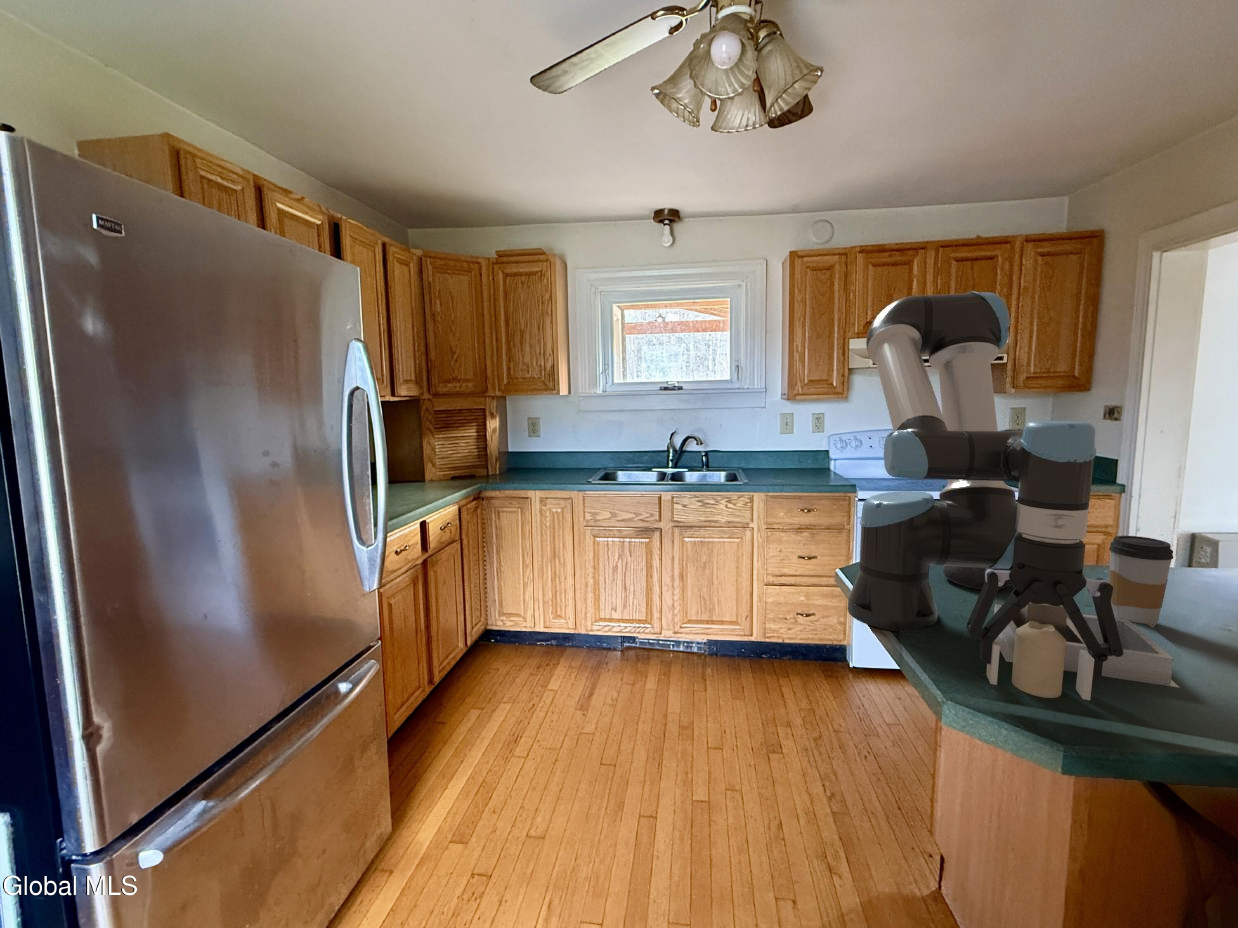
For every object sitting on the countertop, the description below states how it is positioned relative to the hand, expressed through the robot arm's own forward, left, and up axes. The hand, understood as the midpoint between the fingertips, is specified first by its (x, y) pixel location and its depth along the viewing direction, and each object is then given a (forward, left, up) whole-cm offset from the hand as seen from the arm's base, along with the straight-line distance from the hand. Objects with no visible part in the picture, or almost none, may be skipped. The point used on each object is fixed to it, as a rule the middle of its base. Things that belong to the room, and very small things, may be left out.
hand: (1035, 691), depth 76 cm
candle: (0, 0, 0) cm, 0 cm away
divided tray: (+8, +14, 0) cm, 16 cm away
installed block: (+4, +14, +1) cm, 15 cm away
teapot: (+4, +50, -1) cm, 50 cm away
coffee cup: (+23, +35, 0) cm, 42 cm away
